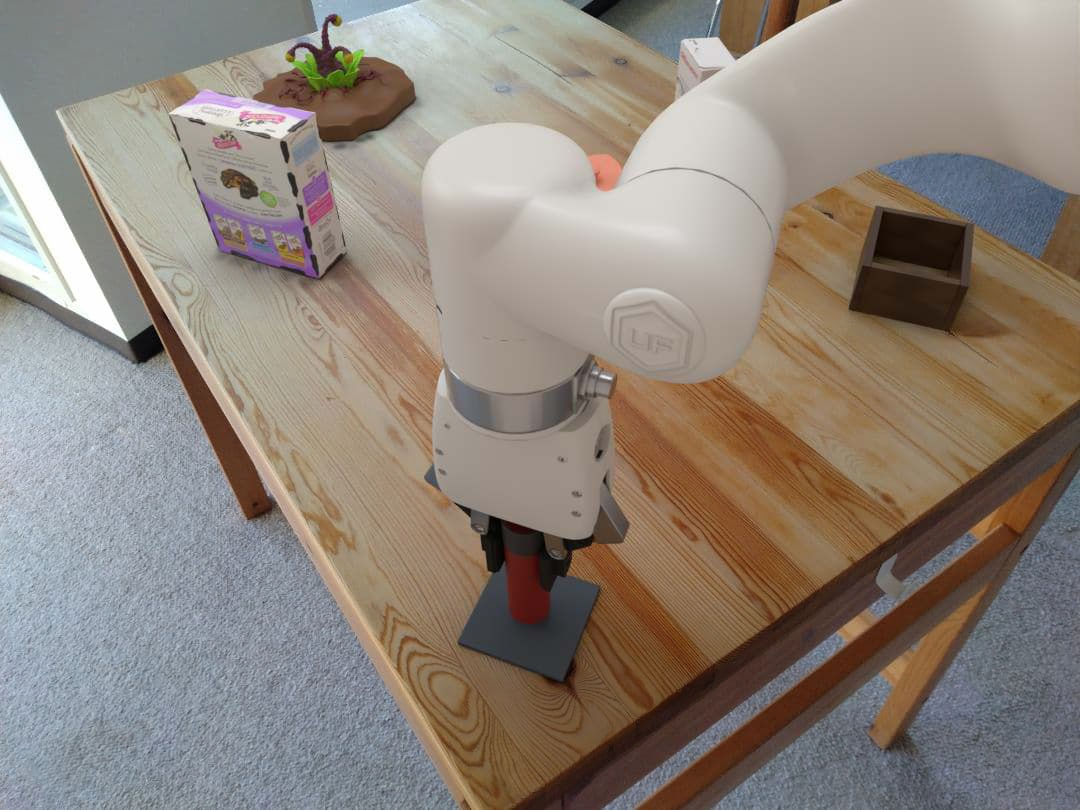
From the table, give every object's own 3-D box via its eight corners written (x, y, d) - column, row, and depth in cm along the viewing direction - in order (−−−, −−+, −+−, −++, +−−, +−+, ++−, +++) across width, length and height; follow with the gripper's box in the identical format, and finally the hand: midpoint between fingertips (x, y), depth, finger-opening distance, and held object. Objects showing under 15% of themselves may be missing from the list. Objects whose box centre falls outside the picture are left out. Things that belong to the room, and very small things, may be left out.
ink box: (728, 158, 105) (743, 65, 96) (689, 162, 104) (701, 69, 96) (706, 124, 111) (718, 34, 102) (669, 129, 110) (678, 38, 102)
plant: (440, 93, 118) (431, 10, 110) (341, 154, 107) (322, 67, 99) (338, 58, 126) (323, -21, 118) (236, 111, 116) (211, 28, 107)
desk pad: (600, 588, 63) (600, 585, 63) (562, 683, 58) (562, 680, 58) (502, 555, 66) (502, 552, 65) (457, 644, 60) (457, 641, 60)
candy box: (350, 251, 93) (318, 110, 81) (318, 282, 89) (281, 139, 78) (249, 222, 97) (205, 84, 85) (215, 250, 94) (164, 110, 82)
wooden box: (956, 267, 89) (974, 223, 85) (949, 331, 82) (969, 286, 78) (862, 248, 92) (875, 205, 88) (848, 309, 85) (862, 264, 81)
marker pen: (557, 594, 62) (557, 503, 54) (541, 630, 60) (538, 541, 52) (518, 581, 62) (512, 489, 54) (501, 616, 60) (492, 526, 52)
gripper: (691, 360, 44) (660, 557, 57) (410, 289, 48) (442, 488, 62) (649, 465, 39) (626, 653, 52) (342, 376, 43) (393, 571, 57)
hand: (527, 562), depth 57 cm, fingers closed on marker pen, 3 cm apart
